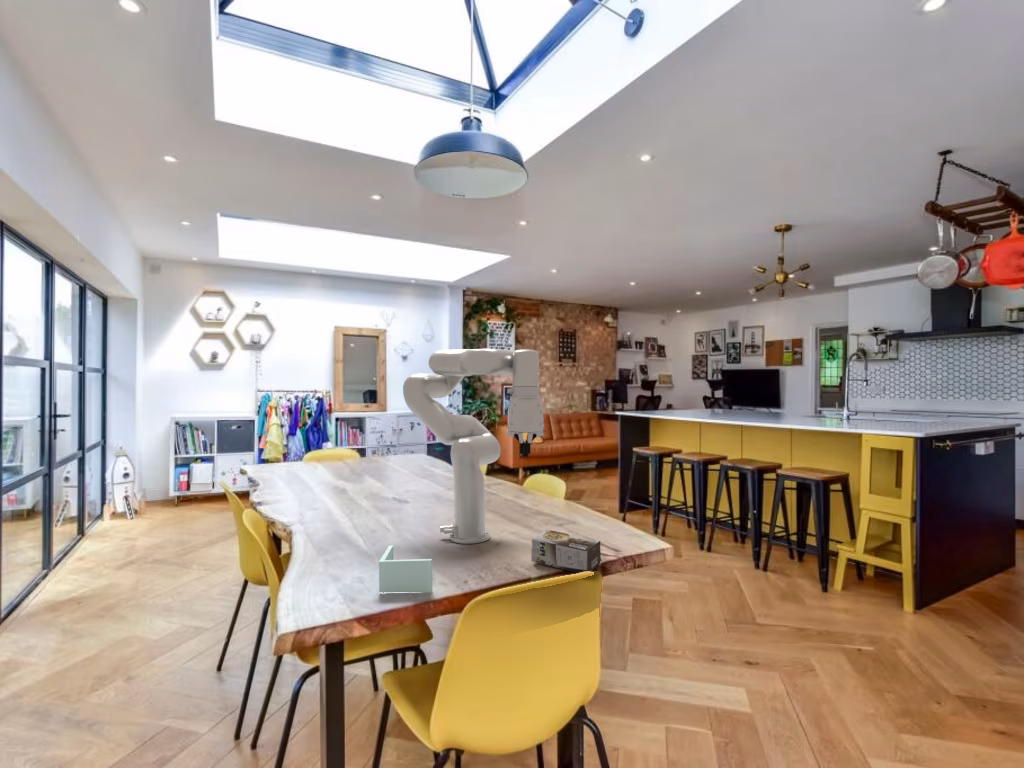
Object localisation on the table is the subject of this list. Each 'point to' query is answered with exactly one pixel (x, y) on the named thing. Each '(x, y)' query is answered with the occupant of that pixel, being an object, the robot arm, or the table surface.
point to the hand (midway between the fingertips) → (524, 456)
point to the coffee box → (566, 551)
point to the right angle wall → (404, 574)
